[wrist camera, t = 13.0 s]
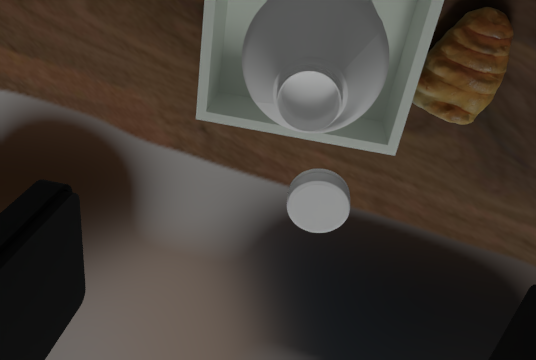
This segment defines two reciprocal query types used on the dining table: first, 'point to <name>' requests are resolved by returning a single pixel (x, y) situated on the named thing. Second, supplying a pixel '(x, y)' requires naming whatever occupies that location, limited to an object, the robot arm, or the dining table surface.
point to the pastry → (465, 66)
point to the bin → (353, 135)
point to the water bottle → (316, 85)
